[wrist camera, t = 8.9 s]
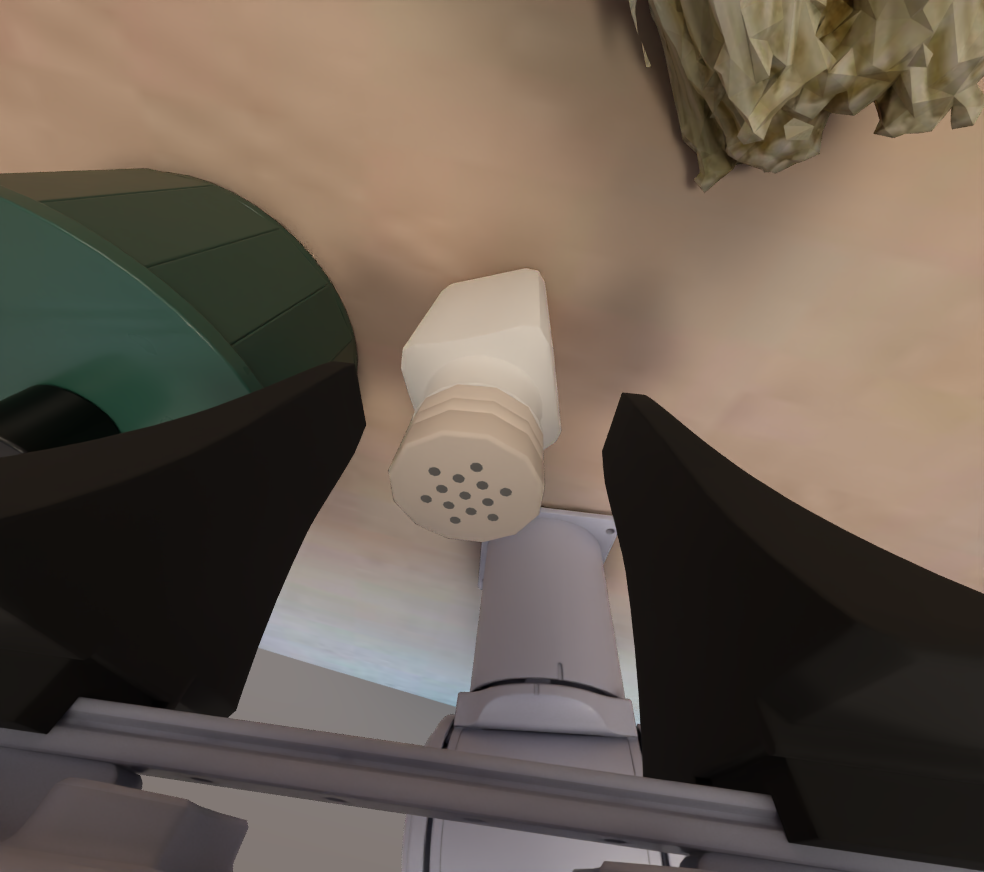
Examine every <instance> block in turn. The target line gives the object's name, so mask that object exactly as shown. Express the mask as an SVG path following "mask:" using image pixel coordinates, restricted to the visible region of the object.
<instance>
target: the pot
mask: <svg viewBox="0 0 984 872" xmlns="http://www.w3.org/2000/svg"><path fill="white" fill-rule="evenodd" d="M0 185H1V186H3V187H6V188H8V189H11V190H13V191H16V192H18V193H20V194H23V195H25V196H28V197H30V198H32V199H35V200H36V201H38V202H40V203H42V204H44V205H46V206H48V207H50V208H52V209H54V210H56V211H58V212H60V213H62V214H63V215H65V216H67V217H69V218H71V219H73V220H75V221H77V222H79V223H80V224H82V225H83V226H85V227H87V228H88V229H90V230H91V231H93V232H95V233H96V234H98V235H100V236H101V237H103V238H104V239H106V240H108V241H109V242H111V243H112V244H114V245H116V246H117V247H119V248H120V249H122V250H123V251H124V252H126V253H127V254H128V255H130V256H131V257H133V258H134V259H135V260H137V261H138V262H139V263H141V264H142V265H143V266H145V267H146V268H148V269H149V270H150V271H152V272H153V273H154V274H156V275H157V276H158V277H160V278H161V279H162V280H163V281H164V282H165V283H167V284H168V285H169V286H170V287H171V288H173V289H174V290H175V291H176V292H177V293H178V294H180V295H181V296H182V297H183V298H184V299H186V300H187V301H188V302H189V303H190V304H191V305H192V306H193V307H194V308H195V309H196V310H197V311H198V312H199V313H200V314H201V315H203V316H204V317H205V318H206V319H207V320H208V321H209V322H210V323H211V324H212V325H213V326H214V327H215V328H216V329H217V330H218V331H219V332H220V333H221V334H222V336H223V337H224V338H225V339H226V340H227V341H228V343H229V344H230V345H231V346H232V347H233V348H234V349H235V351H236V352H237V353H238V354H239V355H240V356H241V358H242V359H243V360H244V361H245V363H246V364H247V365H248V367H249V368H250V370H251V371H252V372H253V374H254V375H255V376H256V378H257V379H258V381H259V382H260V383H261V385H262V386H263V388H265V387H267V386H270V385H272V384H274V383H277V382H279V381H282V380H284V379H286V378H289V377H291V376H294V375H296V374H298V373H301V372H303V371H306V370H308V369H311V368H313V367H316V366H319V365H322V364H325V363H328V362H332V361H337V362H346V363H355V366H356V372H357V349H356V342H355V338H354V334H353V329H352V326H351V323H350V320H349V318H348V315H347V312H346V310H345V308H344V306H343V304H342V302H341V300H340V298H339V296H338V294H337V292H336V290H335V288H334V287H333V285H332V284H331V282H330V280H329V279H328V277H327V276H326V274H325V273H324V271H323V270H322V269H321V267H320V266H319V265H318V264H317V262H316V261H315V260H314V258H313V257H312V256H311V255H310V254H309V252H308V251H307V250H306V249H305V248H304V247H303V246H302V245H301V244H300V243H299V242H298V241H297V240H296V239H295V237H293V236H292V235H291V234H290V233H289V232H288V231H287V230H286V229H284V228H283V227H282V226H281V225H280V224H279V223H278V222H277V221H275V220H274V219H273V218H271V217H270V216H269V215H267V214H266V213H264V212H263V211H262V210H260V209H259V208H258V207H256V206H255V205H253V204H251V203H250V202H248V201H246V200H245V199H243V198H241V197H240V196H238V195H236V194H234V193H233V192H230V191H228V190H226V189H224V188H222V187H219V186H217V185H215V184H213V183H210V182H207V181H204V180H201V179H198V178H194V177H191V176H187V175H181V174H175V173H170V172H160V171H156V170H152V169H116V170H88V171H60V172H32V173H4V174H0Z"/></svg>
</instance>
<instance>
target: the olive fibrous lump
mask: <svg viewBox="0 0 984 872" xmlns="http://www.w3.org/2000/svg"><path fill="white" fill-rule="evenodd" d="M636 1H637V0H629V4H630V9H631V14H632V17H633V20H634V23H635V27H636V30H637V33H638V29H637V21H636V13H635V7H636ZM648 3H649V7H650V12H651V16H652V19H653V20H654V22H655V23H656V25H657V29H658V32H659V35H660V39H661V42H662V46H663V49H664V53H665V58H666V63H667V68H668V72H669V77H670V82H671V87H672V92H673V97H674V101H675V106H676V111H677V115H678V120H679V124H680V129H681V134H682V139H683V141H684V142H685V143H686V144H687V145H688V146H689V147H690V148H691V149H693V150H694V151H695V152H696V153H697V158H698V164H699V169H700V173H699V174H698V175H697V177H696V178H695V179H694V181H695V182H696V183H697V185H698V186H699V187H700V188H701V189H702V190H703V191H704V192H706V191H707V190H708V189H710V188H711V187H712V186H713V185H714V184H715V183H716V182H717V181H719V180H720V179H721V178H722V177H724V176H725V175H726V174H728V173H729V172H730V171H731V170H733V169H734V167H735V165H738V164H748V165H750V166H753V167H756V168H759V169H762V170H763V171H764V172H772V173H778V172H780V171H782V170H784V169H786V168H788V167H790V166H792V165H794V164H796V163H799V162H802V161H805V160H807V159H809V158H812V157H814V156H816V155H818V154H820V146H821V139H822V132H823V129H824V127H825V125H826V122H827V120H828V118H829V115H830V113H835V114H844V115H852V116H855V115H856V114H857V113H859V112H860V111H861V110H863V109H864V108H865V107H867V106H868V105H869V104H871V103H872V102H873V101H874V103H875V106H876V109H877V112H878V116H879V119H880V121H879V123H878V125H877V127H876V130H875V132H874V134H877V135H882V136H887V137H892V138H895V137H898V136H901V135H903V134H913V133H924V132H930V131H932V130H933V129H934V128H935V127H936V125H937V124H938V123H939V122H940V121H941V120H942V118H943V117H944V116H945V115H946V114H947V112H948V111H949V110H950V109H951V126H952V129H956V128H962V127H967V126H973V125H974V124H975V122H976V120H977V118H978V116H979V115H980V113H981V111H982V109H983V108H984V94H983V92H982V91H981V89H980V88H979V87H978V85H977V83H978V82H979V80H980V79H981V78H982V77H983V76H984V0H648ZM641 42H642V41H641ZM642 48H643V53H644V58H645V63H646V67H651V65H650V63H649V60H648V57H647V55H646V52H645V49H644V47H643V44H642Z"/></svg>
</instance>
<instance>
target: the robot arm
mask: <svg viewBox="0 0 984 872" xmlns="http://www.w3.org/2000/svg"><path fill="white" fill-rule="evenodd" d="M365 426H366V421H365V416H364V410H363V405H362V399H361V394H360V388H359V383H358V377H357V372H356V366H355V363H346V362H337V361H332V362H328V363H325V364H322V365H319V366H316V367H313V368H311V369H308V370H306V371H303V372H301V373H298V374H296V375H294V376H291V377H289V378H286V379H284V380H282V381H279V382H277V383H274V384H272V385H270V386H267V387H265V388H262V389H260V390H257V391H255V392H252V393H249V394H247V395H244V396H242V397H239V398H236V399H234V400H231V401H228V402H226V403H223V404H220V405H218V406H215V407H212V408H209V409H206V410H203V411H200V412H197V413H194V414H191V415H187V416H184V417H181V418H177V419H174V420H171V421H167V422H164V423H160V424H157V425H153V426H149V427H145V428H141V429H137V430H132V431H128V432H124V433H120V434H116V435H112V436H108V437H104V438H100V439H95V440H91V441H86V442H81V443H76V444H71V445H66V446H61V447H56V448H51V449H46V450H40V451H35V452H29V453H24V454H18V455H12V456H6V457H0V872H233V863H234V860H235V858H236V855H237V853H238V851H239V848H240V846H241V844H242V841H243V839H244V837H245V834H246V832H247V830H248V823H247V820H244V819H240V818H236V817H233V816H229V815H225V814H222V813H218V812H215V811H212V810H210V809H206V808H204V807H201V806H199V805H197V804H195V803H193V802H191V801H189V800H187V799H182V798H178V797H173V796H168V795H163V794H158V793H153V792H148V791H143V790H141V789H142V779H141V776H140V775H146V776H154V777H160V778H167V779H174V780H180V781H187V782H194V783H201V784H207V785H214V786H221V787H228V788H234V789H241V790H248V791H254V792H261V793H268V794H275V795H281V796H288V797H295V798H301V799H309V800H315V801H322V802H328V803H336V804H342V805H348V806H356V807H362V808H369V809H375V810H383V811H389V812H396V813H403V814H406V818H405V826H404V835H403V846H402V872H984V594H983V593H981V592H978V591H976V590H973V589H971V588H969V587H966V586H964V585H962V584H959V583H957V582H954V581H952V580H950V579H947V578H945V577H942V576H940V575H938V574H936V573H933V572H931V571H929V570H927V569H925V568H922V567H920V566H918V565H916V564H914V563H912V562H910V561H907V560H905V559H903V558H901V557H899V556H897V555H895V554H892V553H890V552H888V551H886V550H884V549H882V548H880V547H878V546H876V545H874V544H872V543H870V542H868V541H866V540H864V539H862V538H860V537H858V536H856V535H854V534H852V533H849V532H848V531H846V530H844V529H842V528H840V527H838V526H836V525H834V524H833V523H831V522H829V521H827V520H825V519H823V518H821V517H820V516H818V515H816V514H814V513H812V512H810V511H809V510H807V509H805V508H803V507H801V506H800V505H798V504H796V503H795V502H793V501H791V500H789V499H788V498H786V497H784V496H783V495H781V494H780V493H778V492H776V491H775V490H773V489H772V488H770V487H768V486H767V485H765V484H764V483H762V482H760V481H759V480H757V479H756V478H754V477H753V476H751V475H750V474H748V473H747V472H745V471H744V470H742V469H741V468H739V467H738V466H737V465H735V464H734V463H732V462H731V461H730V460H728V459H727V458H726V457H724V456H723V455H721V454H720V453H719V452H717V451H716V450H715V449H713V448H712V447H711V446H709V445H708V444H707V443H706V442H704V441H703V440H702V439H701V438H699V437H698V436H697V435H696V434H694V433H693V432H692V431H691V430H689V429H688V428H687V427H686V426H684V425H683V424H682V423H681V422H680V421H678V420H677V419H676V418H675V417H674V416H672V415H671V414H670V413H669V412H668V411H666V410H665V409H664V408H663V407H661V406H660V405H659V404H658V403H656V402H655V401H654V400H652V399H651V398H649V397H648V396H646V395H641V394H632V393H622V394H621V397H620V400H619V403H618V406H617V409H616V412H615V415H614V418H613V421H612V424H611V427H610V430H609V433H608V435H607V438H606V441H605V444H604V447H603V450H602V457H603V470H604V479H605V485H606V490H607V494H608V498H609V502H610V507H611V511H612V515H613V516H611V515H603V514H594V513H586V512H577V511H569V510H561V509H552V508H544V507H541V508H540V513H539V515H538V516H537V517H536V518H534V519H533V520H532V521H531V522H530V523H529V524H527V525H526V526H525V527H524V528H523V529H521V530H520V531H519V532H518V533H517V534H515V535H511V536H507V537H502V538H498V539H494V540H490V541H486V542H482V544H481V556H480V568H479V580H478V588H479V589H481V590H482V596H481V604H480V613H479V621H478V629H477V637H476V646H475V654H474V662H473V671H472V679H471V687H470V692H460V693H458V699H457V705H456V712H455V714H450V715H447V716H445V717H444V718H443V719H442V720H441V721H440V723H439V724H438V726H437V727H436V729H435V731H434V732H433V733H432V734H431V735H430V737H429V738H428V740H427V742H426V744H425V746H421V745H414V744H407V743H400V742H392V741H386V740H379V739H372V738H365V737H358V736H351V735H344V734H337V733H330V732H322V731H316V730H309V729H302V728H294V727H287V726H280V725H273V724H267V723H260V722H252V721H245V720H238V719H231V718H228V717H229V716H230V715H231V714H232V713H234V712H235V711H236V709H237V706H238V703H239V700H240V697H241V694H242V691H243V688H244V685H245V683H246V680H247V677H248V674H249V671H250V668H251V666H252V663H253V660H254V657H255V654H256V652H257V649H258V646H259V643H260V641H261V638H262V636H263V633H264V631H265V628H266V626H267V623H268V621H269V618H270V616H271V613H272V610H273V608H274V605H275V603H276V600H277V598H278V596H279V594H280V591H281V589H282V587H283V584H284V582H285V580H286V577H287V575H288V573H289V570H290V568H291V566H292V564H293V561H294V559H295V557H296V555H297V553H298V551H299V549H300V547H301V544H302V542H303V540H304V538H305V536H306V534H307V532H308V530H309V528H310V526H311V524H312V523H313V521H314V519H315V517H316V516H317V514H318V512H319V511H320V509H321V507H322V506H323V504H324V503H325V501H326V499H327V498H328V496H329V494H330V493H331V491H332V490H333V488H334V486H335V485H336V483H337V481H338V480H339V478H340V477H341V475H342V473H343V472H344V470H345V468H346V467H347V465H348V463H349V462H350V460H351V458H352V456H353V455H354V453H355V451H356V448H357V446H358V444H359V441H360V439H361V436H362V434H363V431H364V429H365ZM617 535H618V539H619V543H620V547H621V551H622V555H623V560H624V566H625V571H626V578H627V585H628V593H629V601H630V608H631V617H632V627H633V636H634V645H635V656H636V668H637V680H638V692H639V708H640V724H637V726H636V723H635V718H634V712H633V706H632V701H631V700H630V699H625V694H624V688H623V682H622V676H621V670H620V664H619V658H618V652H617V646H616V640H615V634H614V628H613V622H612V616H611V610H610V604H609V598H608V592H607V585H606V579H605V573H604V567H603V564H604V562H605V560H606V558H607V556H608V554H609V551H610V549H611V547H612V545H613V543H614V541H615V539H616V536H617ZM138 774H140V775H138Z"/></svg>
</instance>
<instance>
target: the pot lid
mask: <svg viewBox="0 0 984 872" xmlns="http://www.w3.org/2000/svg"><path fill="white" fill-rule="evenodd" d="M262 388H263V386H262V385H261V383H260V382H259V381H258V379H257V378H256V376H255V375H254V374H253V372H252V371H251V370H250V368H249V367H248V365H247V364H246V363H245V361H244V360H243V359H242V358H241V356H240V355H239V354H238V353H237V352H236V351H235V349H234V348H233V347H232V346H231V345H230V344H229V343H228V341H227V340H226V339H225V338H224V337H223V336H222V334H221V333H220V332H219V331H218V330H217V329H216V328H215V327H214V326H213V325H212V324H211V323H210V322H209V321H208V320H207V319H206V318H205V317H204V316H203V315H201V314H200V313H199V312H198V311H197V310H196V309H195V308H194V307H193V306H192V305H191V304H190V303H189V302H188V301H187V300H186V299H184V298H183V297H182V296H181V295H180V294H178V293H177V292H176V291H175V290H174V289H173V288H171V287H170V286H169V285H168V284H167V283H165V282H164V281H163V280H162V279H161V278H160V277H158V276H157V275H156V274H154V273H153V272H152V271H150V270H149V269H148V268H146V267H145V266H143V265H142V264H141V263H139V262H138V261H137V260H135V259H134V258H133V257H131V256H130V255H128V254H127V253H126V252H124V251H123V250H122V249H120V248H119V247H117V246H116V245H114V244H112V243H111V242H109V241H108V240H106V239H104V238H103V237H101V236H100V235H98V234H96V233H95V232H93V231H91V230H90V229H88V228H87V227H85V226H83V225H82V224H80V223H79V222H77V221H75V220H73V219H71V218H69V217H67V216H65V215H63V214H62V213H60V212H58V211H56V210H54V209H52V208H50V207H48V206H46V205H44V204H42V203H40V202H38V201H36V200H35V199H32V198H30V197H28V196H25V195H23V194H20V193H18V192H16V191H13V190H11V189H8V188H6V187H3V186H1V185H0V457H6V456H12V455H18V454H24V453H29V452H35V451H40V450H46V449H51V448H56V447H61V446H66V445H71V444H76V443H81V442H86V441H91V440H95V439H100V438H104V437H108V436H112V435H116V434H120V433H124V432H128V431H132V430H137V429H141V428H145V427H149V426H153V425H157V424H160V423H164V422H167V421H171V420H174V419H177V418H181V417H184V416H187V415H191V414H194V413H197V412H200V411H203V410H206V409H209V408H212V407H215V406H218V405H220V404H223V403H226V402H228V401H231V400H234V399H236V398H239V397H242V396H244V395H247V394H249V393H252V392H255V391H257V390H260V389H262Z"/></svg>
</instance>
